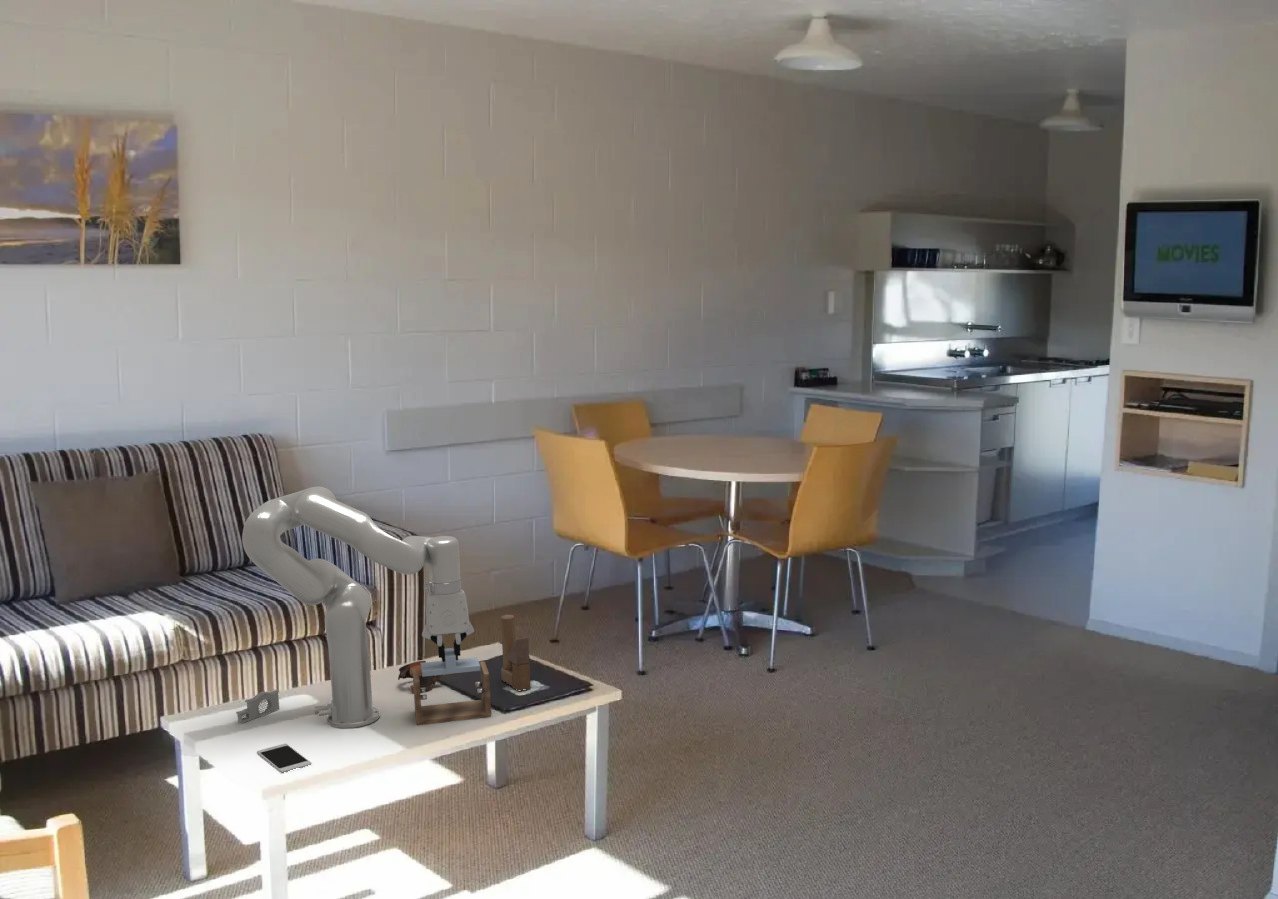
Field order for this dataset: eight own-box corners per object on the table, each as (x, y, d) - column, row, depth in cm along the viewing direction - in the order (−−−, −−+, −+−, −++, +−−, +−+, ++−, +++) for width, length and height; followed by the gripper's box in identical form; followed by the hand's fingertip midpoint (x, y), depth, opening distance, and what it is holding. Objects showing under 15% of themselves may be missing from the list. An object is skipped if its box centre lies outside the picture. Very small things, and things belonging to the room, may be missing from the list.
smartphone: (282, 775, 270) (281, 771, 270) (256, 754, 282) (256, 750, 282) (312, 766, 274) (312, 762, 274) (286, 746, 286) (286, 742, 286)
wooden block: (518, 692, 317) (515, 625, 314) (501, 681, 326) (497, 615, 323) (531, 689, 319) (528, 622, 316) (513, 678, 328) (510, 613, 325)
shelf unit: (417, 725, 296) (414, 681, 294) (414, 710, 305) (412, 668, 304) (491, 716, 300) (489, 673, 298) (486, 702, 310) (484, 661, 308)
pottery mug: (401, 698, 317) (392, 667, 319) (407, 702, 326) (399, 672, 328) (446, 683, 318) (437, 653, 320) (450, 687, 327) (442, 658, 329)
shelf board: (422, 676, 296) (421, 660, 295) (420, 667, 303) (419, 651, 302) (480, 670, 299) (479, 654, 299) (477, 661, 306) (476, 645, 305)
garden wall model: (240, 724, 300) (238, 701, 299) (236, 723, 301) (234, 700, 300) (281, 709, 310) (279, 687, 309) (276, 708, 311) (275, 686, 310)
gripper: (412, 594, 292) (417, 667, 295) (480, 587, 296) (484, 660, 299) (411, 586, 300) (415, 658, 302) (477, 580, 303) (481, 651, 306)
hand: (449, 658), depth 301 cm, fingers closed on shelf board, 2 cm apart
